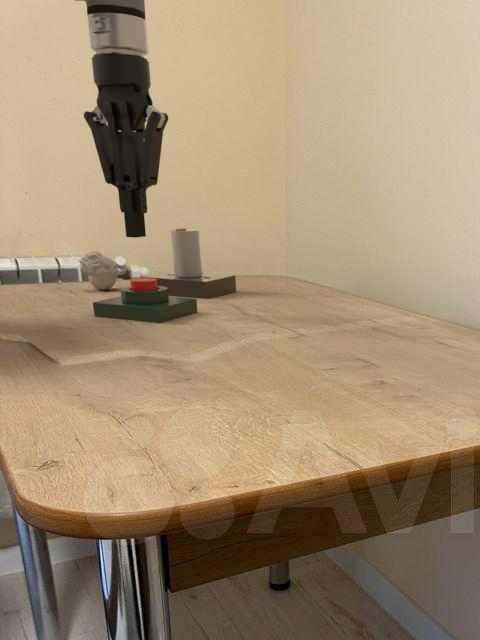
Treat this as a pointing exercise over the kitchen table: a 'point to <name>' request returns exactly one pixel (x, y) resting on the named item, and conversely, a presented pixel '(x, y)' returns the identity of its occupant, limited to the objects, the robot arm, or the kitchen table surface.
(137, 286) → the button
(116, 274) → the frog figurine
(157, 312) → the block
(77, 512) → the kitchen table surface
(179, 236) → the grey cylinder
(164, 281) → the panel
